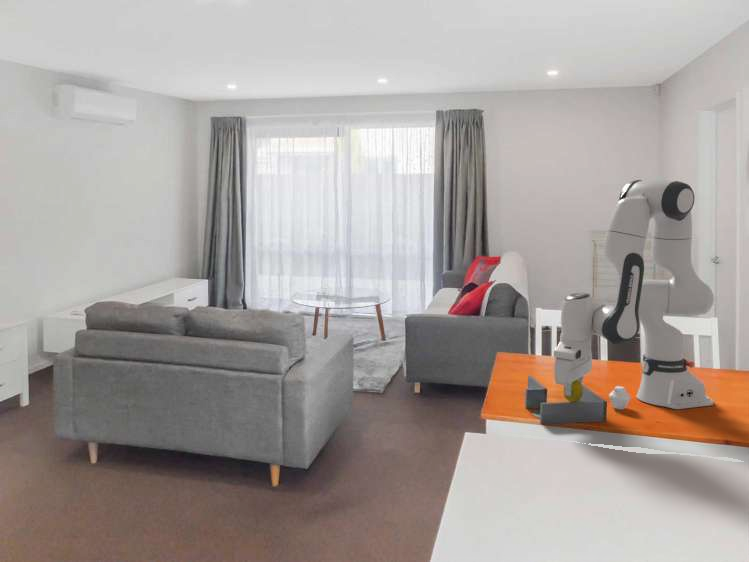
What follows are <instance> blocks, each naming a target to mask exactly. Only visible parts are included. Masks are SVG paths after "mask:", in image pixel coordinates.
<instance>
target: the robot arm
mask: <svg viewBox="0 0 749 562" xmlns="http://www.w3.org/2000/svg"><path fill="white" fill-rule="evenodd" d="M694 204H695V193H694V191H693V188H692V187H691V185H689V184H688V183H685V182H682V181H678V180H674V181H673V180H666V179H653V180H652V179H651V180H649V179H647V180H646V179H645V180H641V179H637V180H632V181H629V182H627V183H626V184H625V185H624V186H623V188H622V189H621V190H620V193H619V199H618V201H617V203H616V205H615V207H614V210H613V211H612V214H611V216H610V219H609V222H608V225H607V228H606V232H605V236H604V241H603V254H604V255H605V258H607V259H608V261H609V262H610V263H611V264H612V266H613V268H615V269H616V272H617V274H618V285H617V291H616V297H615V305H611V304H608V303H605V302H602V301H599V300H598V299H596V298H594V297H593V296H591V294H589V293H586V292H580V293H579V292H576V293H572V294H568V295H567V296H566V297H565V298H564V299H563V302H562V305H561V312H560V313H561V314H560V315H561V316H560V326H561V333H560V336H559V339H560V340H559V342H558V344H557V346H556V347H555V349H554V350H553V357H554V358H555V360H554V367H553V369H554V373H553V374H554V381H555V383H556V384H557V385H562V386H563V389H564V388H565V395H567V396H571V395H572V394H573V393H572V392H573V389H572V388H571V385H572V382H573V381H575V380H578V381H579V382H580V383H581V385H582V384H583V382H584V379H585V375H587V374H588V373H590V372H591V371H592V369H593V353H592V336H595V335H597V336H599V337H601V338H603V339H606V340H607V341H608V342H610V343H612V344H614V345H616V346H625V345H628V344H630V343H632V342H633V341H634V340H635V339H636V337H637V336H638V334H639V332H640V326H642V328H643V332H644V354H643V355H642V362H641V363H642V364H641V365H642V367H641V370H642V374H641V375H642V376H641V381H640V384H639V388H638V391H637V393H636V398H637V399H638V400H639V401H641V402H644V403H647V404H651V405H654V406H658V407H666V408H669V409H672V410H673V409H674V410H683V409H691V408H699V407H707V406H708V407H709V406H714V400H713V399H712V398H711V397H710V396H708V395H707V393H706V386H705V384H704V382H703V381H702V380H700V378H698V377H697V376H696V375H694V374H693V373H692V372H691V371H690V370H688V368H691V369H692V368H694V367H695V362H694V361H693V360H690V359H688V360H687V359H685V358H684V357H683V355H684V345H685V344H684V342H685V338H684V334H683V333H682V331H681V330H680V329H679V328H677V327H675V326H674V325H671V324H670V323H667V322H666V321H665V320H664V316H667V315H668V316H684V317H687V316H688V317H692V316H700V315H701V316H702V315H706V314H707V313H708V312H710V311H711V309H712V308H713V305H714V299H715V298H714V292H713V290H712V288H711V287H710V286H709V285H708V284H707V283H705V282H704V281H703V280H702V279H701V278H700V277H699V276H698V275H697V273H696V272H695V269H694V267H693V264H692V238H693V218H692V210H693V207H694ZM652 218H653V219H654V220H653V225H652V226H653V227H652V233H651V248H650V260H651V262H652V264H654V265H655V266H656V267H657V268H659V269H661V270H663V271H665V272H667V273H669V275H671V278H670V279H650V278H649V279H647V278H646V279H645V278H644V275H645V274H644V273H645V262H644V250H645V243H646V240H647V237H648V232H649V224H650V220H651V219H652Z"/></svg>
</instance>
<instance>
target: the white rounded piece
mask: <svg viewBox="0 0 749 562" xmlns="http://www.w3.org/2000/svg"><path fill="white" fill-rule="evenodd" d="M608 397H609V401H610V404H612V407H613V408H614V409H616V410H625V408H626V407H627V405H628V404H629V402H630V400H631V396H630V394H629V393H628V392H627V389H626V387H624V386H620V385H617V386H615V387H614V388H613V390H612V391H611V392H610V393H609V394H608Z"/></svg>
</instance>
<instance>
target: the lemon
mask: <svg viewBox="0 0 749 562" xmlns="http://www.w3.org/2000/svg"><path fill="white" fill-rule="evenodd" d="M571 388H572V389H573V392H572V393H573V394H572V395H571V396H567V395H565V388H564V387H563V395H564V398H565V400H567V402H578V401H579V400H580V399H581V398H582V395H583V388H582V385H581V383H580V382H579V381H578V380H575V381H573V382H572V385H571Z"/></svg>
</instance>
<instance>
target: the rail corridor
mask: <svg viewBox="0 0 749 562" xmlns="http://www.w3.org/2000/svg"><path fill="white" fill-rule="evenodd" d="M582 388H583V395H582V398H581V399H580V400H579V401H578V402H570V401H558V402H557V401H556V402H555V401H554V402H552V401H551V402H547V401H548V389H547V388H546V387H545V386H544V385H543V384H541V382H539V381H538V380H537V379H536V378H534V377H533V376H532V375H527V388H525V392H524V393H525V396H524V397H525V399H524V401H525V402H524V408H525V409H536V410H533V411H532V412H531V415H532V417H534V418H536V419H539V423H540V425H545V424H546V425H549V424H554V425H555V424H574V423H575V424H576V422H583V423H604V422H607V413H608V412H607V411H608V401H607V400H605V399H604V398H603V397H601V396H599V394H598V393H595V392H594V391H593V390H591V389H590V388H589V387H587V386H585V384H583V383H582Z"/></svg>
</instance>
